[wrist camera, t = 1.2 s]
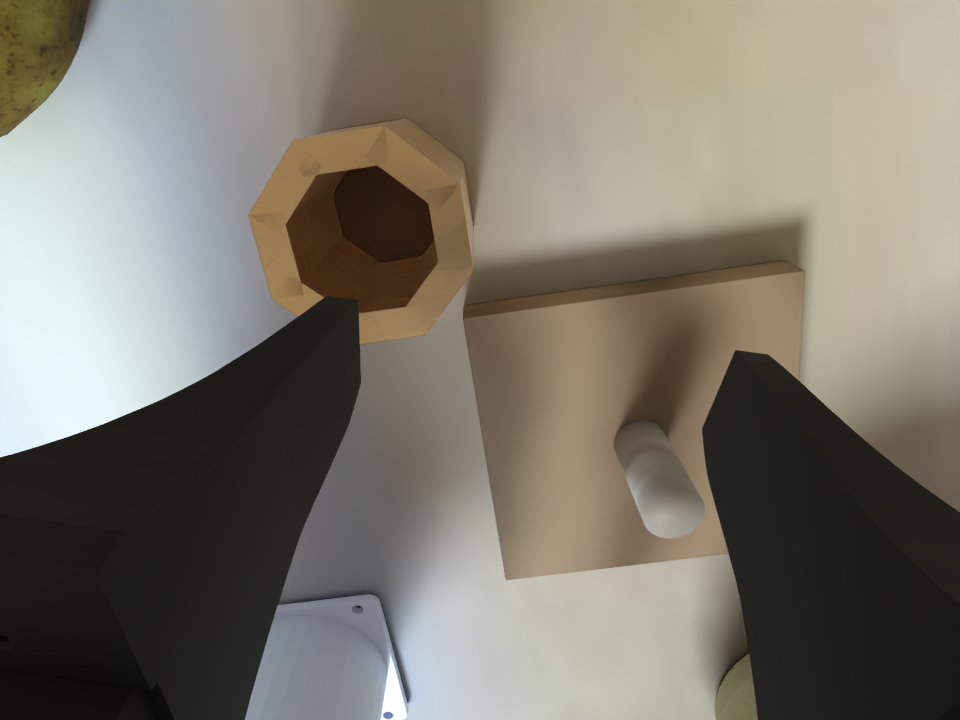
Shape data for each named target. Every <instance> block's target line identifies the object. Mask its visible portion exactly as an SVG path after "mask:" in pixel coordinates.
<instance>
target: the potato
mask: <svg viewBox="0 0 960 720" xmlns="http://www.w3.org/2000/svg"><path fill="white" fill-rule="evenodd" d="M89 1H90V0H0V137H2V136H4V135H7V134H8V133H9V132H10V131H12V130H13V129H14V128H15V127H16V126H17V125H19V124H20V123H21V122H22V121H23V120H24V119H26V118H27V117H28V116H29V115H30V114H31V113H32V112H33V111H34V110H36V109H37V108H38V107H39V106H40V105H41V104H42V103H43V102H44V101H45V100H46V99H47V98H48V96H49V95H50V94H51V93H52V92H53V91H54V90H55V89H56V88H57V86H58V85H59V83H60V82H61V81H62V79H63V77H64V76H65V74H66V72H67V70H68V69H69V67H70V65H71V63H72V61H73V59H74V57H75V54H76V52H77V50H78V47H79V44H80V41H81V37H82V34H83V31H84V26H85V21H86V15H87V10H88V6H89Z"/></svg>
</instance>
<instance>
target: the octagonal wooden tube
mask: <svg viewBox="0 0 960 720" xmlns="http://www.w3.org/2000/svg"><path fill="white" fill-rule="evenodd" d="M370 166H379V167H380V168H381V169H383V170H384V171H385V172H387V173H388V174H389V175H391V176H392V177H394V178H395V179H396V180H398V181H399V182H400V183H402V184H403V185H404V186H406V187H407V188H408V189H410V190H411V191H412V192H414V193H415V194H416V195H418V196H419V197H420V198H422V199H423V200H425V201H426V202H427V203H428V205H429V211H430V216H431V222H432V228H433V234H434V240H433V242H432V243H431V245H430V246H429V247H428V249H427V250H426V252H425V253H424V254H423V256H420V257H413V258H406V259H400V260H393V261H386V262H379V261H377V260H376V259H374V258H373V257H372V256H370V255H369V254H367V253H366V252H364V251H363V250H361V249H360V248H359V247H357V246H356V245H354V244H353V243H351V242H350V241H349V240H347V239H346V238H344V237H343V233H342V229H341V225H340V220H339V216H338V211H337V207H336V203H335V198H334V194H333V192H334V190H335V189H336V187H337V186H338V184H339V183H340V181H341V179H342V178H343V176H344V175H345V173H346V172H347V170H351V169H357V168H364V167H370ZM248 217H249V220H250V223H251V227H252V230H253V234H254V237H255V241H256V244H257V248H258V251H259V255H260V258H261V262H262V265H263V269H264V272H265V276H266V279H267V283H268V286H269V290H270V293H271V297H272V299H273V300H274V301H275V302H277V303H278V304H280V305H281V306H283V307H284V308H286V309H287V310H289V311H290V312H292V313H294V314H295V315H297V316H300V315H301V314H302V313H304V312H305V311H307V310H308V309H309V308H311V307H312V306H313V305H315V304H316V303H317V302H319V301H320V300H322V299H323V298H325V297H326V296H333V297H340V298H348V299H355V300H359V335H360V344H365V343H372V342H379V341H386V340H394V339H401V338H408V337H415V336H422V335H425V334H426V333H427V331H428V330H429V329H430V327H431V326H432V325H433V324H434V322H435V321H436V320H437V318H438V317H439V316H440V314H441V313H442V312H443V310H444V309H445V308H446V306H447V305H448V304H449V302H450V301H451V300H452V298H453V297H454V296H455V295H456V293H457V292H458V291H459V289H460V288H461V287H462V285H463V284H464V283H465V281H466V280H467V279H468V277H469V276H470V275H471V273H472V272H473V243H474V228H473V221H472V214H471V207H470V201H469V194H468V187H467V180H466V174H465V167H464V162H463V161H462V160H461V159H460V158H459V157H457V156H456V155H455V154H453V153H452V152H451V151H450V150H448V149H447V148H446V147H444V146H443V145H442V144H441V143H439V142H438V141H437V140H435V139H434V138H433V137H431V136H430V135H429V134H428V133H426V132H425V131H424V130H422V129H421V128H420V127H419V126H417V125H416V124H415V123H413V122H412V121H411V120H410V119H408V118H407V119H401V120H395V121H388V122H382V123H375V124H369V125H363V126H356V127H350V128H343V129H338V130H334V131H330V132H325V133H321V134H317V135H312V136H308V137H304V138H300V139H295V140H293V141H292V143H291V144H290V146H289V148H288V149H287V151H286V153H285V155H284V156H283V158H282V160H281V161H280V163H279V165H278V166H277V168H276V170H275V171H274V173H273V175H272V176H271V178H270V180H269V181H268V183H267V185H266V186H265V188H264V190H263V191H262V193H261V195H260V196H259V198H258V200H257V201H256V203H255V205H254V206H253V208H252V210H251V211H250V213H249V216H248Z"/></svg>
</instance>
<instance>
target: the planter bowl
mask: <svg viewBox="0 0 960 720" xmlns="http://www.w3.org/2000/svg"><path fill="white" fill-rule="evenodd" d="M715 716H716V720H758V717H757V708H756V700H755V692H754V685H753V677H752V670H751V662H750V655H749V653H748V654H747V655H746V656H744V657H743V658H742V659H741V660H740V661H739V662H737V663H736V664H735V665H734V667H733V668H732V669H731V670H730V671H729V672H728V674H727V675H726V677H725V678H724V680H723V681H722V683H721V685H720V687H719V690H718V693H717V696H716V701H715Z"/></svg>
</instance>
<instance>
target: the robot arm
mask: <svg viewBox="0 0 960 720" xmlns="http://www.w3.org/2000/svg"><path fill="white" fill-rule="evenodd" d="M360 384H361V372H360V335H359V300H355V299H348V298H340V297H333V296H326V297H325V298H323V299H322V300H320V301H319V302H317V303H316V304H315V305H313V306H312V307H311V308H309V309H308V310H307V311H305V312H304V313H302V314H301V315H300V316H298V317H297V318H296V319H294V320H293V321H292V322H290V323H289V324H287V325H286V326H285V327H283V328H282V329H280V330H279V331H277V332H276V333H275V334H273V335H272V336H270V337H269V338H268V339H266V340H265V341H263V342H262V343H260V344H259V345H257V346H256V347H254V348H253V349H251V350H249V351H248V352H246V353H245V354H243V355H241V356H240V357H238V358H237V359H235V360H233V361H232V362H230V363H229V364H227V365H225V366H224V367H222V368H221V369H219V370H217V371H216V372H214V373H212V374H210V375H209V376H207V377H205V378H203V379H201V380H200V381H198V382H196V383H194V384H192V385H190V386H188V387H186V388H184V389H182V390H180V391H178V392H176V393H174V394H172V395H170V396H168V397H166V398H164V399H162V400H160V401H158V402H155V403H153V404H151V405H148V406H146V407H144V408H141V409H139V410H136V411H134V412H132V413H129V414H127V415H124V416H122V417H120V418H117V419H115V420H112V421H110V422H108V423H105V424H103V425H100V426H97V427H95V428H92V429H89V430H86V431H83V432H81V433H78V434H75V435H72V436H69V437H66V438H63V439H60V440H57V441H54V442H51V443H48V444H45V445H42V446H39V447H35V448H32V449H29V450H25V451H22V452H19V453H15V454H12V455H8V456H4V457H0V720H403V719H405V718H406V717H407V716H408V704H407V700H406V696H405V692H404V689H403V685H402V681H401V677H400V674H399V670H398V666H397V663H396V659H395V655H394V651H393V648H392V644H391V640H390V637H389V633H388V629H387V625H386V622H385V618H384V614H383V611H382V607H381V603H380V600H379V599H378V598H377V597H376V596H374V595H368V594H367V595H359V596H350V597H342V598H333V599H325V600H317V601H308V602H300V603H292V604H283V605H278V602H279V599H280V596H281V593H282V589H283V586H284V583H285V580H286V577H287V574H288V571H289V568H290V565H291V562H292V558H293V555H294V552H295V549H296V546H297V543H298V540H299V537H300V535H301V532H302V530H303V527H304V525H305V522H306V520H307V517H308V515H309V513H310V511H311V508H312V506H313V504H314V502H315V500H316V497H317V495H318V493H319V491H320V488H321V486H322V484H323V482H324V480H325V477H326V475H327V473H328V471H329V468H330V466H331V464H332V462H333V460H334V457H335V455H336V453H337V451H338V448H339V446H340V444H341V441H342V439H343V437H344V435H345V432H346V430H347V428H348V425H349V422H350V419H351V415H352V412H353V409H354V405H355V402H356V398H357V395H358V391H359V388H360ZM702 437H703V446H704V456H705V463H706V470H707V476H708V480H709V484H710V488H711V492H712V495H713V499H714V503H715V506H716V510H717V514H718V517H719V521H720V524H721V528H722V532H723V535H724V539H725V542H726V546H727V549H728V553H729V557H730V560H731V564H732V567H733V571H734V574H735V578H736V582H737V587H738V591H739V595H740V600H741V605H742V611H743V617H744V623H745V630H746V636H747V642H748V648H749V655H750V662H751V670H752V677H753V685H754V692H755V700H756V708H757V717H758V720H960V512H958V511H957V510H955V509H954V508H952V507H951V506H950V505H948V504H947V503H945V502H944V501H943V500H941V499H940V498H938V497H937V496H935V495H934V494H933V493H931V492H930V491H928V490H927V489H926V488H924V487H923V486H921V485H920V484H919V483H917V482H916V481H915V480H913V479H912V478H911V477H909V476H908V475H907V474H905V473H904V472H903V471H902V470H900V469H899V468H898V467H896V466H895V465H894V464H893V463H892V462H890V461H889V460H888V459H887V458H885V457H884V456H883V455H882V454H881V453H879V452H878V451H877V450H876V449H874V448H873V447H872V446H871V445H870V444H868V443H867V442H866V441H865V440H864V439H863V438H861V437H860V436H859V435H858V434H857V433H856V432H854V431H853V430H852V429H851V428H850V427H849V426H848V425H846V424H845V423H844V422H843V421H842V420H841V419H840V418H839V417H838V416H836V415H835V414H834V413H833V412H832V411H831V410H830V409H829V408H828V407H827V406H825V405H824V404H823V403H822V402H821V401H820V400H819V399H818V398H817V397H816V396H815V395H814V394H812V393H811V392H810V391H809V390H808V389H807V388H806V387H805V386H804V385H803V384H802V383H801V382H800V381H798V380H797V379H796V378H795V377H794V376H793V375H792V374H791V373H790V372H789V371H787V370H786V369H785V368H784V367H783V366H782V365H781V364H779V363H778V362H777V361H776V360H775V359H773V358H772V357H771V356H769V355H768V354H762V353H754V352H747V351H739V350H735V352H734V354H733V357H732V359H731V362H730V364H729V366H728V369H727V371H726V373H725V376H724V378H723V380H722V383H721V385H720V387H719V390H718V392H717V394H716V397H715V399H714V402H713V404H712V406H711V409H710V411H709V413H708V416H707V418H706V420H705V423H704V425H703V427H702ZM356 605H359V606H361V608H359V607H356Z"/></svg>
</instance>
